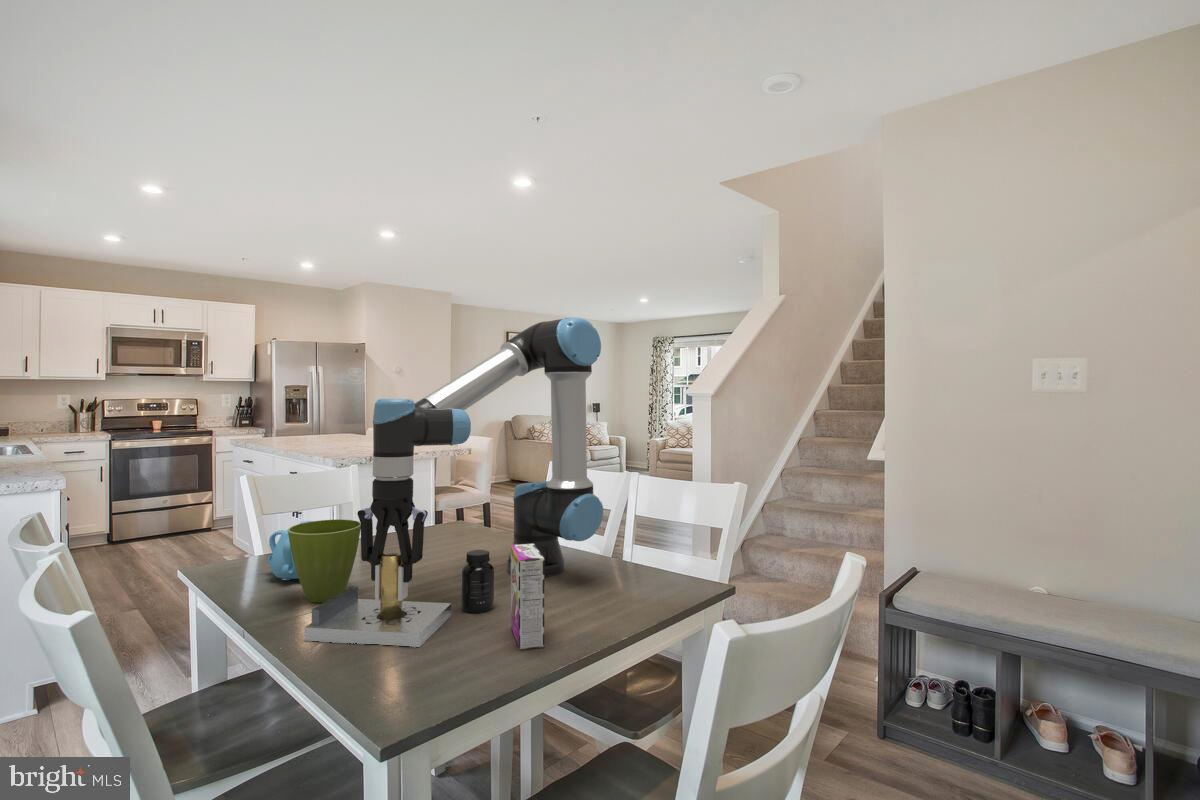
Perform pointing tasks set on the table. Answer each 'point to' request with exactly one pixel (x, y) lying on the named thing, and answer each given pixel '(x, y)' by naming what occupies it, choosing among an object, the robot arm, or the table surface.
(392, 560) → the cylinder
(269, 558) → the decorative pot
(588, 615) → the table surface
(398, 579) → the robot arm
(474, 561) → the supplement bottle
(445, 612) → the plate
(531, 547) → the candy bar box
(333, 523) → the flower pot
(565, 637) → the table surface
